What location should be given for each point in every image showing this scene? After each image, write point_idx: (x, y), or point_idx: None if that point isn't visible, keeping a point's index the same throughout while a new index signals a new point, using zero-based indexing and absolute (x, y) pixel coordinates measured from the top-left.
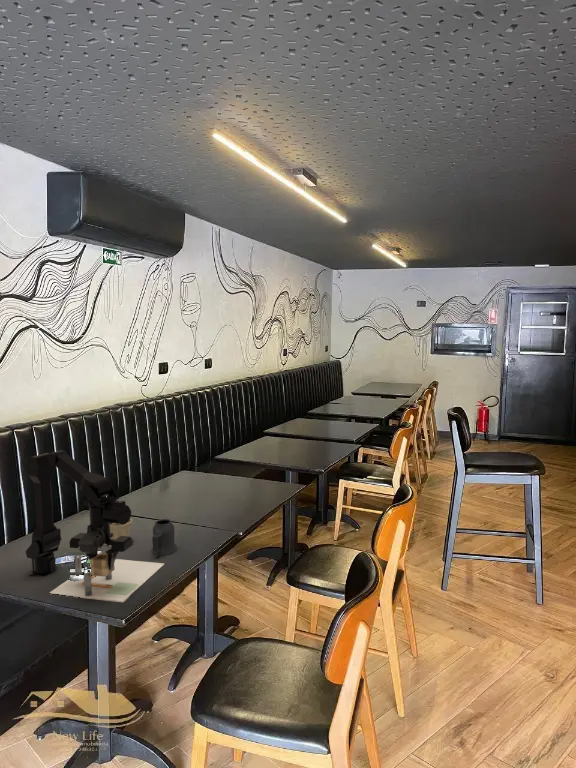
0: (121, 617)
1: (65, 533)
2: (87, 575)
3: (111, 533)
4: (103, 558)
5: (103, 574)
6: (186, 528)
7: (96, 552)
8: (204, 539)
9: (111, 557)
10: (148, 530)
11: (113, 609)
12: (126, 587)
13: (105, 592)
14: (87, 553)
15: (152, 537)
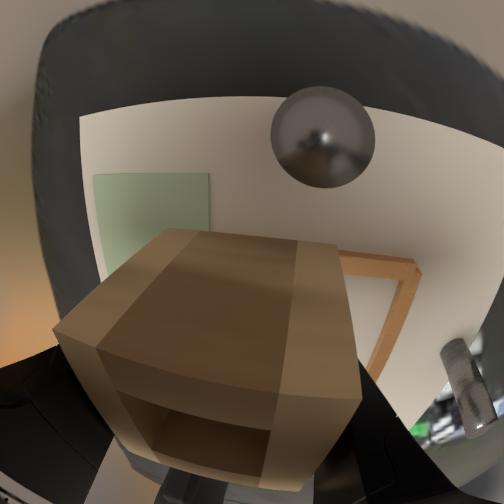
0: (55, 28)
1: (474, 467)
2: (294, 96)
3: None
4: (231, 434)
5: (178, 237)
6: (228, 496)
7: (317, 502)
8: (161, 467)
9: (15, 366)
10: (305, 501)
11: (96, 50)
12: (133, 249)
13: (213, 180)
14: (429, 497)
15: (178, 498)
